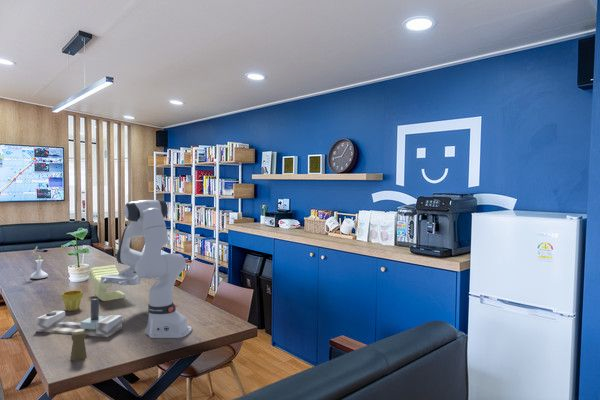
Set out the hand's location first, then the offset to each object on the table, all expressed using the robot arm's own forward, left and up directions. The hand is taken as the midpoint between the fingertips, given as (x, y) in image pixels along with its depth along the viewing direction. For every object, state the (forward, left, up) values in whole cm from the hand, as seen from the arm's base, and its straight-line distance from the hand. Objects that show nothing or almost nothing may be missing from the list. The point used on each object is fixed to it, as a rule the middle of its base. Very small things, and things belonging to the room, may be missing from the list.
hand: (111, 283), depth 207 cm
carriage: (0, +14, -19) cm, 24 cm away
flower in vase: (+108, -73, -21) cm, 132 cm away
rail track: (+8, +14, -21) cm, 26 cm away
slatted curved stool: (+28, -40, -21) cm, 53 cm away
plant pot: (+34, -14, -21) cm, 42 cm away
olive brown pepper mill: (-13, +42, -21) cm, 49 cm away
